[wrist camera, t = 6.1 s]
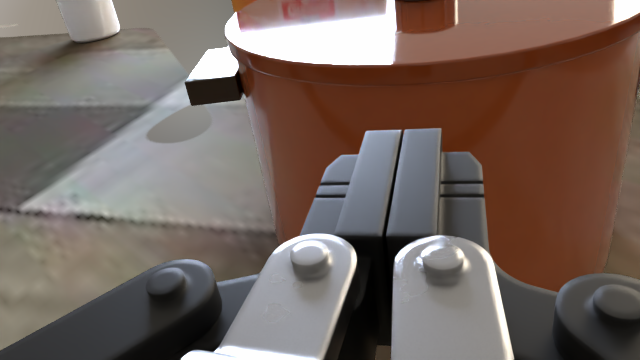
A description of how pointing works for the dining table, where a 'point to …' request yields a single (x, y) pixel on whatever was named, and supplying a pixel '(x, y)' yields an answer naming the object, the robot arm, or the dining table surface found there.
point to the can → (89, 19)
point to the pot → (447, 107)
